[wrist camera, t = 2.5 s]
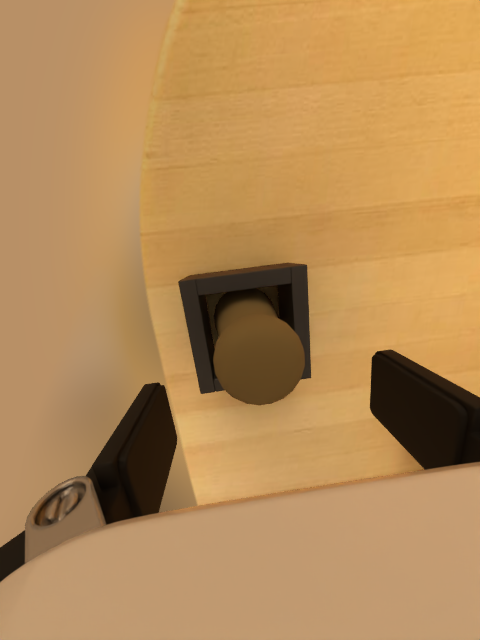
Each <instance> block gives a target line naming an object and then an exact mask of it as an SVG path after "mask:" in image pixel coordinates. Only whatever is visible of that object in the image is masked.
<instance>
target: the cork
mask: <svg viewBox="0 0 480 640" xmlns="http://www.w3.org/2000/svg"><path fill="white" fill-rule="evenodd" d="M214 322H215V327H216V330H217V333H218V336H219V339H218V340H217V342H216V346H215V351H214V357H213V363H214V369H215V374H216V376H217V378H218V380H219V382H220V384H221V386H222V387H223V389H224V390H225V391H226V392H228V393H229V394H230V395H231V396H232V397H234V398H236V399H238V400H240V401H242V402H245V403H247V404H254V405H264V404H271V403H274V402H276V401H278V400H281V399H283V398H284V397H285V396H287V395H288V394H289V393H290V392H292V391H293V389H294V388H295V387H296V385H297V384H298V382H299V381H300V379H301V376H302V373H303V370H304V367H305V355H304V349H303V346H302V344H301V341H300V339H299V336H298V335H297V334H296V333H295V332H294V330H293V329H292V328H291V327H290V326H289V325H288V324H287V323H286V322H284V321H282V320H280V319H278V317H277V314H276V311H275V308H274V306H273V304H272V301H271V299H270V298H269V297H268V296H267V295H266V294H265V293H264V292H263V291H261V290H259V289H257V288H253V289H246V290H238V291H231V292H226V293H225V294H224V295H223V296H222V297H221V298H220V299H219V301H218V303H217V304H216V306H215V311H214Z"/></svg>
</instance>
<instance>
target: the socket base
mask: <svg viewBox="0 0 480 640" xmlns="http://www.w3.org/2000/svg"><path fill="white" fill-rule="evenodd" d="M276 285H277V291H278V304H279V318H280V320H282V321H284V322H286V323H287V324H288V325H289V326H290V327H291V328H292V329H293V330H294V332H295V333H296V334H297V335H298V336H299V339H300V341H301V344H302V346H303V349H304V355H305V367H304V370H303V373H302V376H301V379H307V378H311V360H310V333H309V305H308V278H307V265H305V264H295V263H282V264H276V265H275V264H274V265H267V266H259V267H251V268H243V269H236V270H228V271H220V272H213V273H205V274H197V275H190V276H188V277H186V278H184V279H182V280H180V281H179V287H180V292H181V297H182V302H183V307H184V312H185V317H186V322H187V327H188V332H189V337H190V342H191V347H192V352H193V357H194V362H195V367H196V372H197V377H198V382H199V387H200V392H201V394H204V393H211V392H215V391H216V392H217V391H224V389H223V387H222V386H221V384H220V382H219V380H218V378H217V376H216V374H215V369H214V363H213V357H214V351H215V348H214V342H213V336H212V330H211V324H210V318H209V312H208V306H207V300H206V295H208V294H216V293H223V292H231V291H238V290H246V289H253V288H261V287H269V286H276Z"/></svg>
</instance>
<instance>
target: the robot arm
mask: <svg viewBox="0 0 480 640" xmlns="http://www.w3.org/2000/svg"><path fill="white" fill-rule="evenodd" d="M370 409H371V412H372V414H373V415H374V416H375V417H376V418H377V419H378V420H379V421H380V422H381V424H382V425H383V426H384V427H385V428H386V429H387V430H388V431H389V432H390V433H391V434H392V435H393V436H394V437H395V438H396V439H397V440H398V441H399V443H400V444H401V445H402V446H403V447H404V448H405V449H406V450H407V451H408V452H409V453H410V454H411V455H412V456H413V457H414V458H415V459H416V460H417V462H418V463H419V464H420V465H421V466H422V467H423V468H424V469H425V470H420V471H413V472H406V473H400V474H393V475H386V476H380V477H373V478H367V479H361V480H354V481H348V482H341V483H335V484H328V485H322V486H316V487H310V488H303V489H297V490H291V491H284V492H278V493H272V494H266V495H260V496H254V497H248V498H241V499H235V500H229V501H223V502H217V503H211V504H205V505H199V506H193V507H188V508H183V509H177V510H171V511H166V512H160V513H158V512H159V508H160V505H161V501H162V497H163V494H164V490H165V486H166V482H167V479H168V475H169V471H170V467H171V463H172V459H173V456H174V452H175V449H176V445H177V435H176V430H175V426H174V422H173V418H172V414H171V410H170V406H169V402H168V397H167V393H166V389H165V387H164V385H160V383H152V384H145V385H144V386H143V388H142V389H141V391H140V393H139V394H138V396H137V397H136V399H135V400H134V402H133V403H132V405H131V406H130V408H129V410H128V411H127V413H126V414H125V416H124V417H123V419H122V420H121V422H120V424H119V425H118V426H117V428H116V430H115V431H114V433H113V434H112V436H111V437H110V439H109V440H108V442H107V443H106V445H105V446H104V448H103V450H102V451H101V453H100V454H99V456H98V457H97V459H96V460H95V462H94V463H93V465H92V467H91V469H90V470H89V472H88V473H87V475H86V476H79V477H74V478H71V479H68V480H66V481H64V482H62V483H60V484H58V485H57V486H55V487H54V488H53V489H51V490H50V491H48V493H46V494H45V495H44V496H43V497H42V498H41V499H40V500H39V501H38V502H37V503H36V504H35V506H34V507H33V508H32V510H31V511H30V513H29V515H28V517H27V520H26V524H25V531H23V532H22V533H20V534H19V535H17V536H16V537H15V538H13V539H12V540H11V541H9V542H8V543H6V544H5V545H3V546H2V547H0V640H480V397H478V396H476V395H474V394H472V393H470V392H469V391H467V390H465V389H463V388H461V387H459V386H458V385H456V384H454V383H452V382H450V381H448V380H446V379H445V378H443V377H441V376H439V375H437V374H435V373H434V372H432V371H430V370H428V369H426V368H424V367H423V366H421V365H419V364H417V363H415V362H413V361H412V360H410V359H408V358H406V357H404V356H402V355H401V354H399V353H397V352H395V351H393V350H384V351H377V352H376V353H375V355H374V356H373V357H372V370H371V394H370Z"/></svg>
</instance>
